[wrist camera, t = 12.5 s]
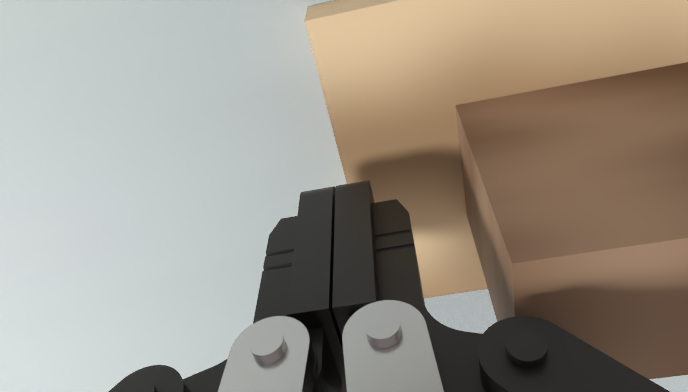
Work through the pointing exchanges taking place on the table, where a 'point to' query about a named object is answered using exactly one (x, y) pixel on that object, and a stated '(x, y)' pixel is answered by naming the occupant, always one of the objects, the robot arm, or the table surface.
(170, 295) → the table surface
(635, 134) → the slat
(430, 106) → the guide board
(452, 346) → the robot arm
